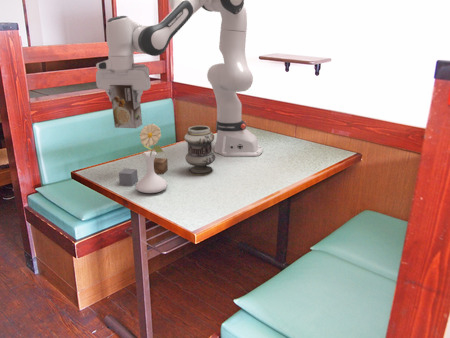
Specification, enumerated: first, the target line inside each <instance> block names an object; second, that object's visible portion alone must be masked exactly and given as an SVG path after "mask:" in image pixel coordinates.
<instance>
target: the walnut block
mask: <svg viewBox="0 0 450 338" xmlns="http://www.w3.org/2000/svg"><path fill="white" fill-rule="evenodd" d="M168 166H169V165H168V158H165V157H164V158H163V157H155V158H154V172H155V173H156V174H157V175H164V174H165V173H166V172H167V171H168Z"/></svg>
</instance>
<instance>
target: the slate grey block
mask: <svg viewBox="0 0 450 338" xmlns="http://www.w3.org/2000/svg"><path fill="white" fill-rule="evenodd" d="M118 179H119V186H123V187H125V186H127V187H133V186H135V185H136V184H137V183H138V181H139V179H138V169H137V168H125V167H124V168H123V169H122V170H120V171H119V172H118Z"/></svg>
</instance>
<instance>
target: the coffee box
mask: <svg viewBox="0 0 450 338" xmlns="http://www.w3.org/2000/svg"><path fill="white" fill-rule="evenodd" d="M110 92H111V100H112V102H111V107H112V116H113V123H114V124H113V125H114V128H117V129H138V128H139V127H141V126H143V119H142V118H143V117H142V108H141V102H139V103H138V102H135V98H136V97H137V96H138V94H139V93H137V90H133V87H132V85H110Z"/></svg>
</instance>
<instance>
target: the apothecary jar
mask: <svg viewBox="0 0 450 338" xmlns="http://www.w3.org/2000/svg"><path fill="white" fill-rule="evenodd" d="M187 129H188V130H187V133H186V134H185V135H184V138H183V139H184V141H185V143H187V154H185V158H184V159H185V161H186V163H187V164H188V165H191V166H192V167H190V168H189V169H188V173H189V174H191V175H192V176H193V175H194V176H205V175H209V174H211V173H213V171H214V169H213V167H211V166H209V165H211V164H213V163H214V162H215V159H216V154H215V153H214V152H213V149H212V148H213V145H212V142H214V141H215V135H214V133H213V132H212V131H211V128H210V126H207V125H193V126H190V127H188V128H187Z"/></svg>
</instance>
